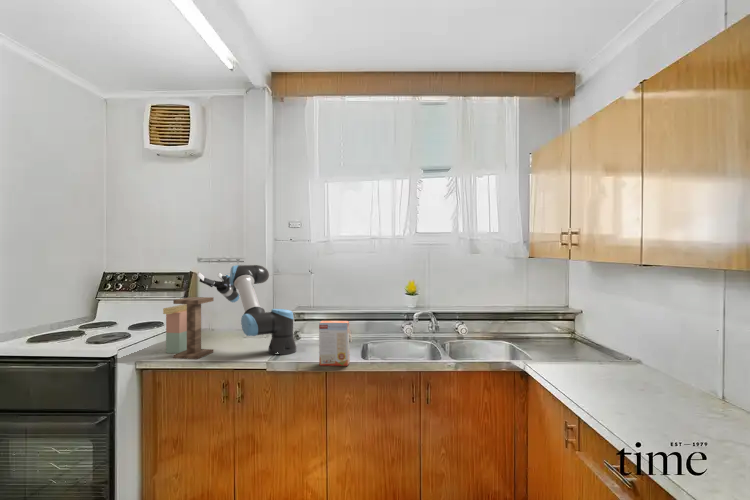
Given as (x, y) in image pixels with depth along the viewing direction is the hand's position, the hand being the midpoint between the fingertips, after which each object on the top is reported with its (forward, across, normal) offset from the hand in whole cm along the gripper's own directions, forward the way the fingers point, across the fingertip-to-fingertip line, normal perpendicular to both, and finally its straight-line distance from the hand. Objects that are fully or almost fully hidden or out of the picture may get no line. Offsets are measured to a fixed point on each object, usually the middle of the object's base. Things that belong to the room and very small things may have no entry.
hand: (208, 274), depth 240 cm
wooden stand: (+4, -10, -51) cm, 52 cm away
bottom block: (-2, +4, -47) cm, 47 cm away
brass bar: (+8, +4, -28) cm, 29 cm away
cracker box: (+10, -89, -54) cm, 104 cm away
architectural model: (-34, -83, -30) cm, 95 cm away
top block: (+4, +4, -38) cm, 38 cm away
